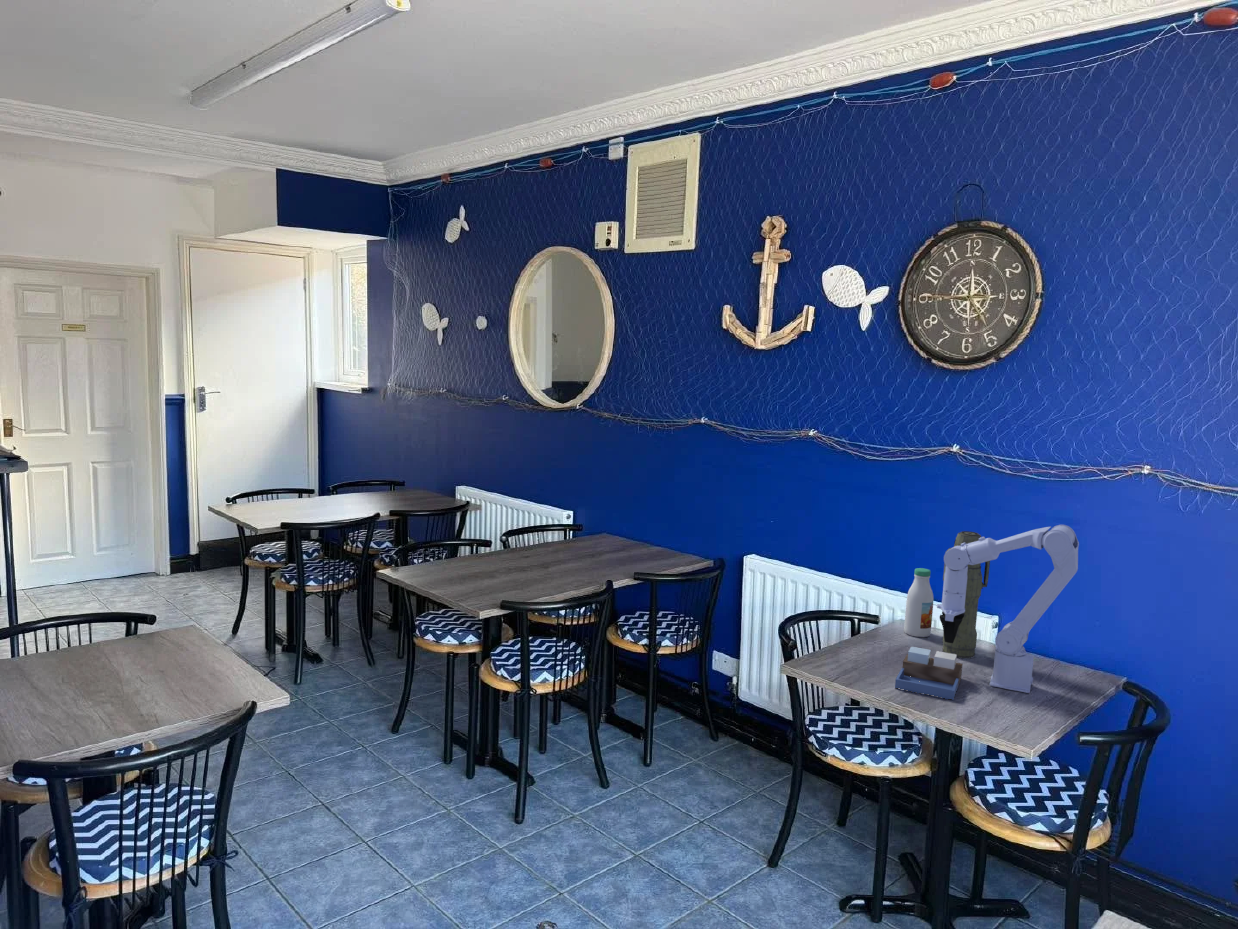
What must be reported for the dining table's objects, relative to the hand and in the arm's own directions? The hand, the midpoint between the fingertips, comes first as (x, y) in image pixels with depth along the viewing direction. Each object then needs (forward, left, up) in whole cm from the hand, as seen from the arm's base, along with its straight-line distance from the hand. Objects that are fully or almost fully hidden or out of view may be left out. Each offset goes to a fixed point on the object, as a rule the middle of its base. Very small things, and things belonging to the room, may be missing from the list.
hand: (949, 640), depth 238 cm
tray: (+3, +16, -8) cm, 19 cm away
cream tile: (0, +8, -4) cm, 9 cm away
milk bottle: (+12, -29, -9) cm, 33 cm away
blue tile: (+6, +8, -4) cm, 11 cm away
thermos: (-1, -17, -9) cm, 19 cm away
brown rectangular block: (+3, +8, -8) cm, 12 cm away
